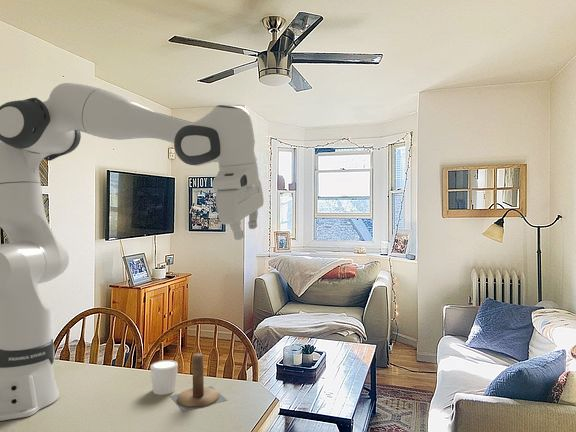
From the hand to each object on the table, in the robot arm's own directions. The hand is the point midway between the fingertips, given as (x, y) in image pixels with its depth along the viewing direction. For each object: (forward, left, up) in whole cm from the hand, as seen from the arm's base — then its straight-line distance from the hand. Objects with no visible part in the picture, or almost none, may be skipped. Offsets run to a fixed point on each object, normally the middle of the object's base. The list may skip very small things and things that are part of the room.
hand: (246, 233), depth 103 cm
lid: (-9, +8, -40) cm, 42 cm away
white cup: (-15, +18, -41) cm, 47 cm away
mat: (-9, +8, -41) cm, 43 cm away
